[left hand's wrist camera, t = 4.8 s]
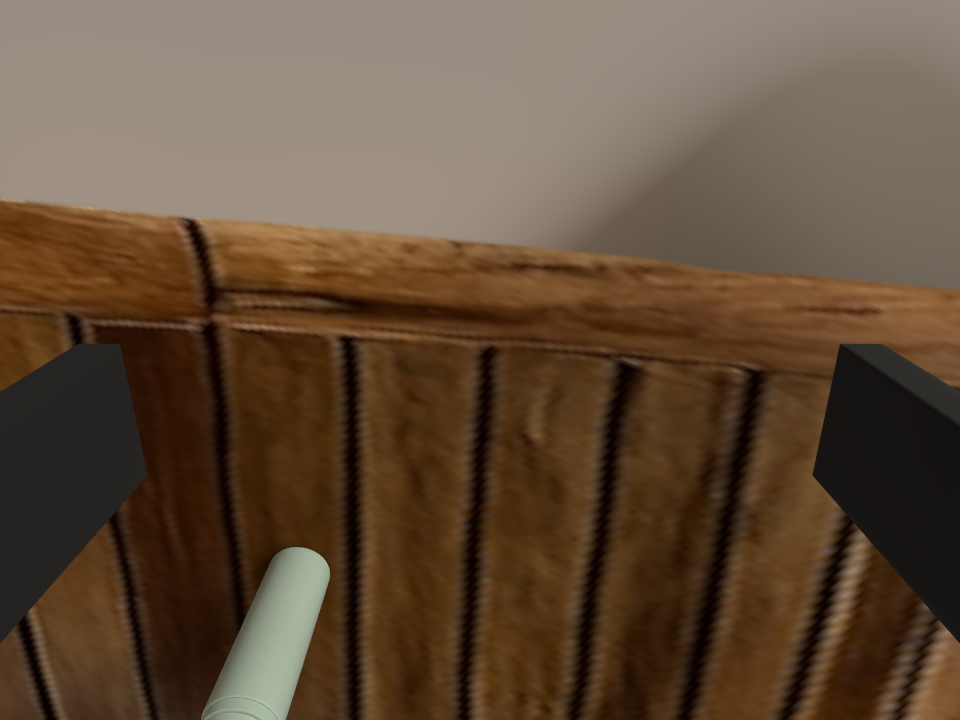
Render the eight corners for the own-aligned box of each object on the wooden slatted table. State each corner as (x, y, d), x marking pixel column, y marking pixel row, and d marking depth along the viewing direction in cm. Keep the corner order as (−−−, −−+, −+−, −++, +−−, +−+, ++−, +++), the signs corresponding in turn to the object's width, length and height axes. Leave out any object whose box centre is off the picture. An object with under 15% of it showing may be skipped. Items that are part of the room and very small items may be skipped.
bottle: (285, 536, 47) (174, 790, 30) (340, 563, 48) (263, 825, 31) (259, 579, 48) (137, 845, 31) (313, 604, 49) (223, 877, 32)
